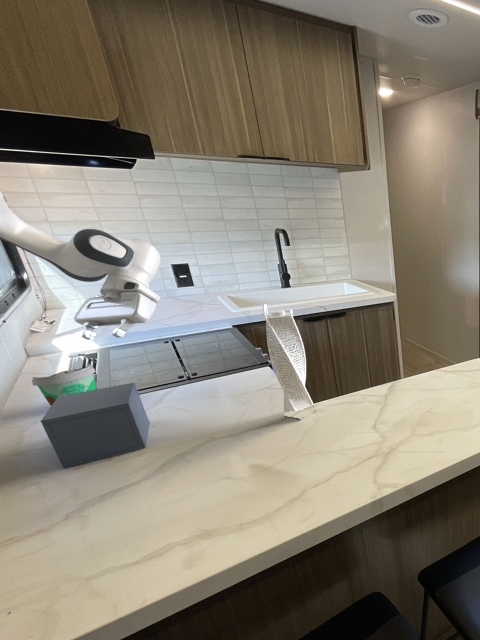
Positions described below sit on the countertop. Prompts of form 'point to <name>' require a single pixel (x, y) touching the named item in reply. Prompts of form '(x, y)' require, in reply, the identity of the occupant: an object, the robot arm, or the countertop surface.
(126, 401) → the cabinet
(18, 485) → the countertop surface
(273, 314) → the skyscraper
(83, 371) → the food container
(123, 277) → the robot arm
